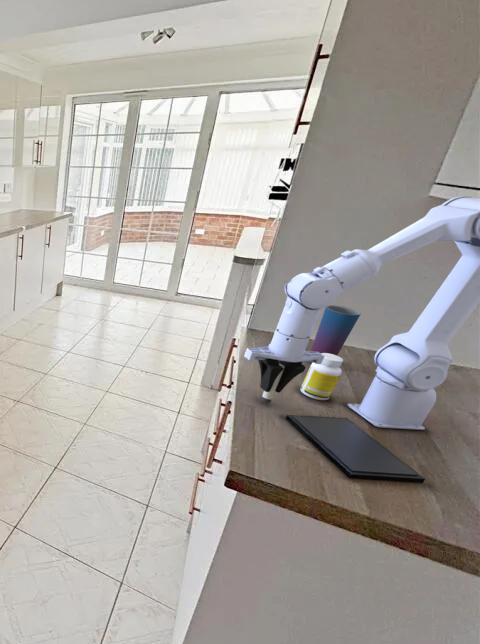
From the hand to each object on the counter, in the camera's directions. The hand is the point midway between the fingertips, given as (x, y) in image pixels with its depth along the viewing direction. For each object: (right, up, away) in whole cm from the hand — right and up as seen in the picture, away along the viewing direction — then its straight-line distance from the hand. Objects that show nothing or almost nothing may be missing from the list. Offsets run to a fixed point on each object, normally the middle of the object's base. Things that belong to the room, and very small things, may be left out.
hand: (270, 389), depth 88 cm
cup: (+28, +4, +20) cm, 35 cm away
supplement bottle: (+14, -2, +6) cm, 15 cm away
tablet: (+6, -9, -11) cm, 16 cm away
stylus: (0, -3, +1) cm, 3 cm away
